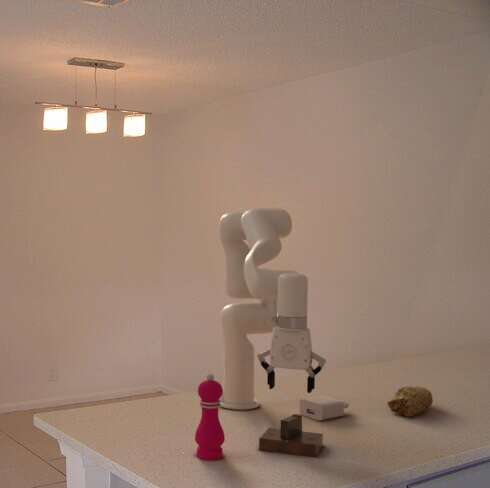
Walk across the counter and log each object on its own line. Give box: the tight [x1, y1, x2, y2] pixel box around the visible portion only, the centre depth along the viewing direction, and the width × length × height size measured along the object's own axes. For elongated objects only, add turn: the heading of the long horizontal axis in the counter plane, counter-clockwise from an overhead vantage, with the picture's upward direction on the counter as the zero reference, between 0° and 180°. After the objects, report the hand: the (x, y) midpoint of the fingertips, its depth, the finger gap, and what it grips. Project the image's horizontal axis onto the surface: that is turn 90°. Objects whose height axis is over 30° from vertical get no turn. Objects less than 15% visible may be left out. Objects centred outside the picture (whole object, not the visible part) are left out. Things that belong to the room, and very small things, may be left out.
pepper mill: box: [194, 373, 226, 461], centre depth 176 cm, size 7×7×20 cm
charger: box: [299, 395, 350, 421], centre depth 215 cm, size 5×9×15 cm
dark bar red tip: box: [280, 413, 303, 439], centre depth 182 cm, size 7×2×5 cm, turn 140°
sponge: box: [386, 386, 434, 417], centre depth 220 cm, size 13×8×20 cm
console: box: [258, 427, 324, 458], centre depth 182 cm, size 14×11×3 cm
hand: (290, 389), depth 183 cm, fingers open, 9 cm apart
